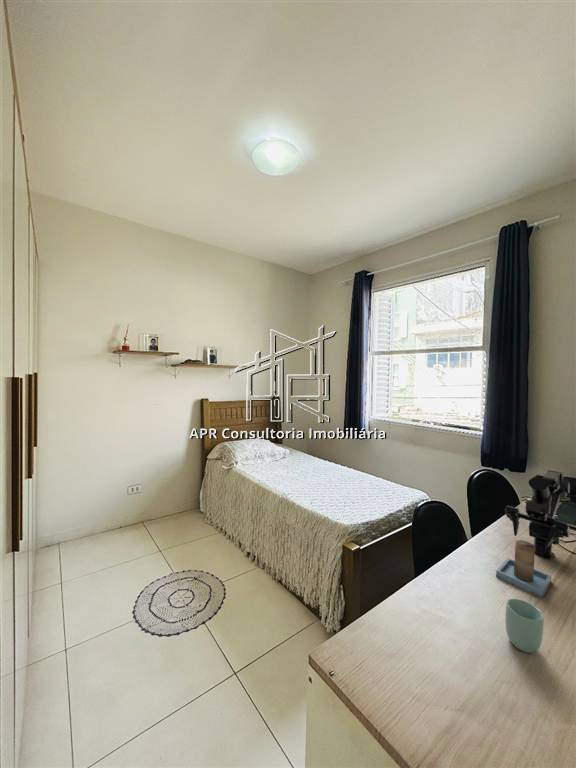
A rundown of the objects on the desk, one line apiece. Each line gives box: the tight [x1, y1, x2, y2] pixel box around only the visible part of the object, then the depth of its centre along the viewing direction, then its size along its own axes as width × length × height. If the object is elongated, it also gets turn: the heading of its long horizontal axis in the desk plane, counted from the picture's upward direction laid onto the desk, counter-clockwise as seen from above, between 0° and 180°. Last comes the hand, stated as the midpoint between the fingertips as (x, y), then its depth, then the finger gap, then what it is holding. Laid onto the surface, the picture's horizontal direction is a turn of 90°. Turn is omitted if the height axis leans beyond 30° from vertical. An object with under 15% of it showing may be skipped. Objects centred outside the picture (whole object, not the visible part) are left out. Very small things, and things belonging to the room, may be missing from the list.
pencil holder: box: [514, 539, 536, 582], centre depth 109 cm, size 6×6×12 cm
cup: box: [505, 598, 545, 654], centre depth 81 cm, size 8×8×10 cm
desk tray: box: [495, 557, 553, 599], centre depth 109 cm, size 13×13×2 cm
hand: (530, 540), depth 112 cm, fingers open, 9 cm apart
